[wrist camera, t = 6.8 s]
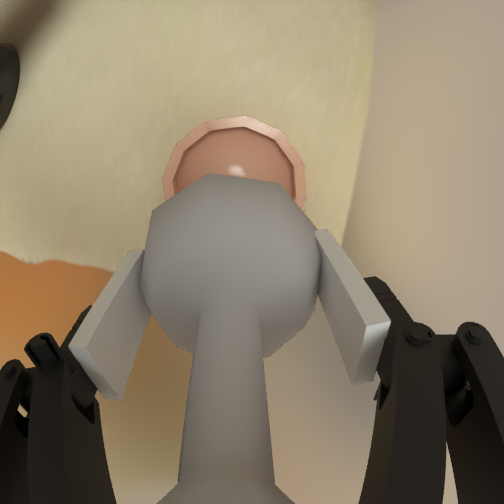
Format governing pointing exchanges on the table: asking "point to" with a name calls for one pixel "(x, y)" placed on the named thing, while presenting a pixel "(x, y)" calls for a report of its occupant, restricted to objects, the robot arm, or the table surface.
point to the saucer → (236, 156)
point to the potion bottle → (229, 323)
